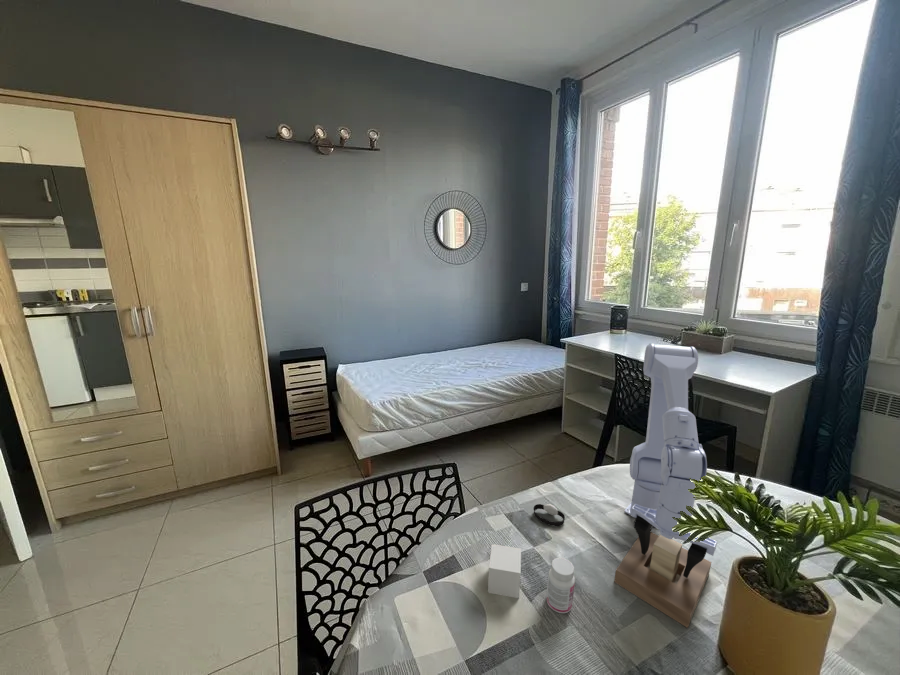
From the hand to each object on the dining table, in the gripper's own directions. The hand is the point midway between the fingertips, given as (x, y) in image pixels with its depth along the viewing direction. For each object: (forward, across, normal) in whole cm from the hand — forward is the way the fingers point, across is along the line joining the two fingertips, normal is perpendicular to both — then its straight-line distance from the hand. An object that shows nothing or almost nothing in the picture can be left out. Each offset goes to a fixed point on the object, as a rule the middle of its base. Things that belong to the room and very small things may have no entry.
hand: (664, 562), depth 75 cm
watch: (+4, -25, -2) cm, 26 cm away
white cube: (+4, -22, -24) cm, 33 cm away
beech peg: (+4, 0, 0) cm, 4 cm away
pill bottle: (+4, -12, -20) cm, 24 cm away
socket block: (+4, 0, 0) cm, 4 cm away
